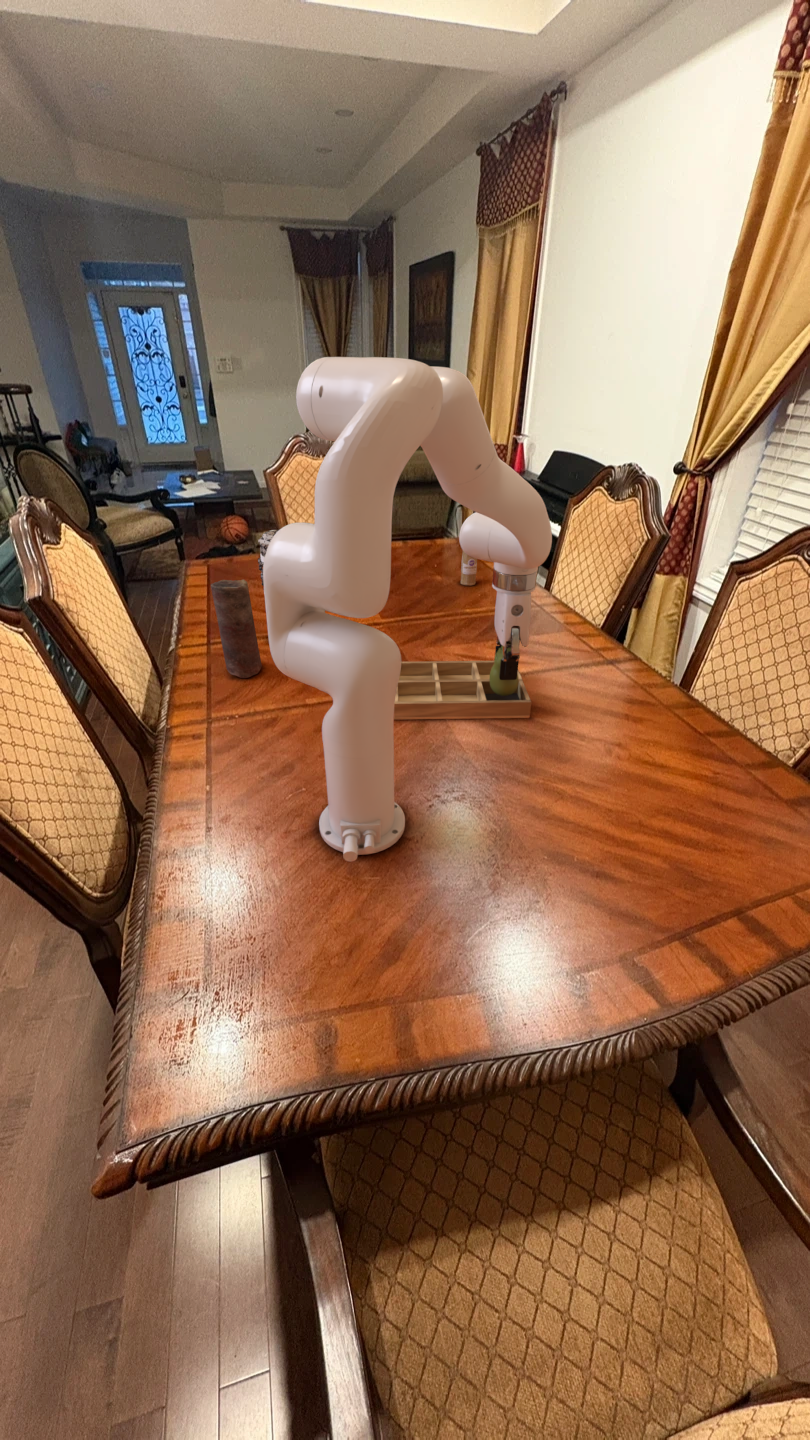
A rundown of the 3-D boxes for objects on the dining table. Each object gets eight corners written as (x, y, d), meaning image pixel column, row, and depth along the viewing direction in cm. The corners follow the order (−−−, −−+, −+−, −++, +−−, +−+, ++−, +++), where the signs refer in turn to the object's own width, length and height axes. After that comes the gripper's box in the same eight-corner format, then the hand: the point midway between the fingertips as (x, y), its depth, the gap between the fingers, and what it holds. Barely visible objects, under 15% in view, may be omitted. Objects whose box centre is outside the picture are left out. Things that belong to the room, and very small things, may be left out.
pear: (504, 684, 121) (508, 638, 115) (523, 695, 117) (528, 647, 112) (483, 692, 118) (486, 645, 113) (502, 703, 114) (505, 655, 109)
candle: (219, 674, 130) (202, 583, 119) (241, 660, 136) (228, 573, 125) (246, 682, 127) (232, 590, 116) (269, 667, 133) (257, 578, 122)
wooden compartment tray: (529, 717, 115) (531, 701, 113) (394, 719, 115) (394, 703, 113) (512, 674, 130) (514, 660, 128) (393, 676, 129) (392, 661, 127)
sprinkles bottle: (465, 587, 176) (468, 540, 169) (457, 582, 179) (459, 536, 172) (478, 584, 178) (482, 538, 170) (470, 580, 181) (473, 534, 174)
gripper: (547, 596, 98) (534, 694, 108) (526, 563, 113) (516, 651, 122) (501, 596, 98) (492, 694, 108) (485, 563, 112) (479, 652, 122)
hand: (505, 670), depth 115 cm, fingers closed on pear, 5 cm apart
